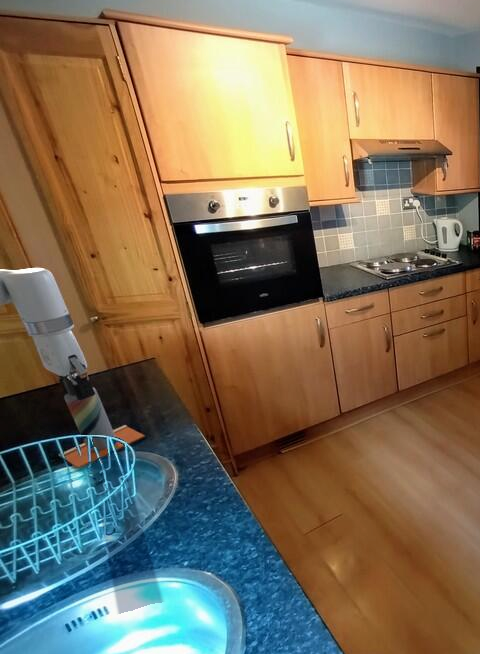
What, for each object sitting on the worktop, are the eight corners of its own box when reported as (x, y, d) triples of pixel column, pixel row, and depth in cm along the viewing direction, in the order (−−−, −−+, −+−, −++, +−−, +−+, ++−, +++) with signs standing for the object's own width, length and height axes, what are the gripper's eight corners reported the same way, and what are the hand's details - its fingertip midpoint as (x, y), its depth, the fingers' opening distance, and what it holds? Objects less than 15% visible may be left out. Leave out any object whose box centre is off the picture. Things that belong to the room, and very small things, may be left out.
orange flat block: (78, 468, 106) (77, 466, 106) (58, 455, 110) (57, 453, 110) (145, 436, 117) (144, 434, 117) (124, 426, 122) (124, 424, 121)
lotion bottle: (93, 440, 115) (63, 371, 107) (120, 435, 117) (92, 367, 109) (83, 453, 110) (50, 382, 102) (111, 448, 112) (81, 378, 104)
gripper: (10, 323, 101) (43, 392, 108) (44, 337, 94) (78, 411, 101) (53, 312, 107) (82, 379, 114) (88, 325, 100) (117, 395, 107)
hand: (80, 393), depth 108 cm, fingers closed on lotion bottle, 5 cm apart
